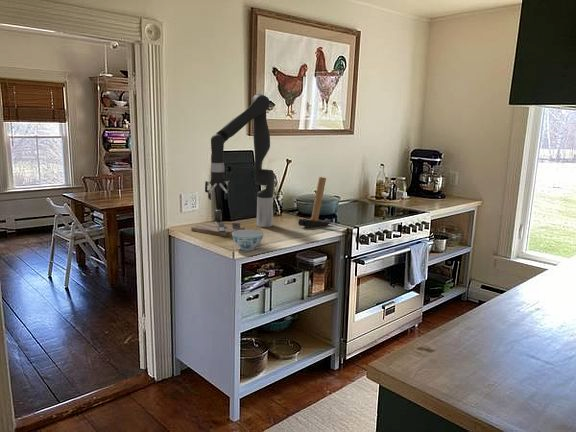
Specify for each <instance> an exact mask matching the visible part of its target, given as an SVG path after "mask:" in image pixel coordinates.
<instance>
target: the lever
mask: <svg viewBox="0 0 576 432" xmlns="http://www.w3.org/2000/svg"><path fill="white" fill-rule="evenodd" d="M213 214H214V215H213V216H214V218H213V221H214V223H215V224H216V226H217V228H218V230H219V231H224V224H225V222H222V209H214V211H213Z"/></svg>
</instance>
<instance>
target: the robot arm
mask: <svg viewBox="0 0 576 432" xmlns="http://www.w3.org/2000/svg"><path fill="white" fill-rule="evenodd" d="M270 107H271V101H270V98H269V97H268V96H267V95H264V94H261V93H257V94H255V95H254V96H252V99H251V103H250V105H249V107H247V108H246V109H245V110H244V111H242V112H241V113H239V114H238V115H236V116H235V117H234V118H232V119H231V120H230V121H228V123H226V124H225V125H224V126H223V127H222V128H221V129H220V130H219V131H217V132H216V133H215V134H213V135H212V136H211V138H210V150H211V155H210V181H207V180H205V182H204V193H207V196H208V197H207V198H208V200H209V201H211V200H212V191H214V190H221V189H222V190H223V191H224V200H226V201H227V199H228V198H229V197H228V194H229V193H230V192H231V189H232V188H231V181H230V180H228V181H227V180H225V171H226V170H225V155H224V152H225V151H224V148H225V143H226V142H227V141H228V140H229V139H230V138H232V137H234V136H235V135H236V134H237V133H238V132H239V131H241V130H242V129H243V128H244V127H245V126H246V125H247V124H249V123H250V122H251V121H252V120H253V150H254V182H255V184H256V185H259V186H266V187H265V188H264V189H263V190H259V191H257V193H256V226H257V227H258V228H260V227H261V228H270V227H273V225H274V207H273V205H274V202H273V201H274V200H273V199H274V187H275V186H274V185H275V172H274V169H267V168H266V169H265V168H264V169H263V161H264V159H265V157H266V156H267V154H268V152H269V150H270V148H271V136H270V129H269V125H268V122H267V111H268V110H269V108H270ZM210 185H211V186H210ZM225 185H226V186H227V189H226V188H225ZM208 186H210V188H209V190H208Z"/></svg>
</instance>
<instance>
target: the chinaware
mask: <svg viewBox="0 0 576 432" xmlns="http://www.w3.org/2000/svg"><path fill="white" fill-rule="evenodd" d="M231 236H232V239H233V242H234V243H235V244H236V245H237V246H238V248H239V247H240V250H242V251H246V252H247V251H248V252H249V251H253V250H255V248H256V247H258V246H259V244H260V243H261V242H262V240H263V237H264V232H263V231H261V230H258V229H245V230H237V231H234V232H232V235H231Z"/></svg>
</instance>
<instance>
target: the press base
mask: <svg viewBox="0 0 576 432" xmlns="http://www.w3.org/2000/svg"><path fill="white" fill-rule="evenodd" d="M190 230H191V232H197V233H202V234H208V235H213V236H219V237H224V238H226V237H231V236H232V232H234V231H237V230H246V229H245V227H242V226H241V222H237V221H234V222H232V223H231V225H230V224H225V223H224V231H219V230H218V228H217V226H216V224H215V222H213V221H211V222H206V223H202V224H198V225H194V226H191V229H190Z"/></svg>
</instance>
